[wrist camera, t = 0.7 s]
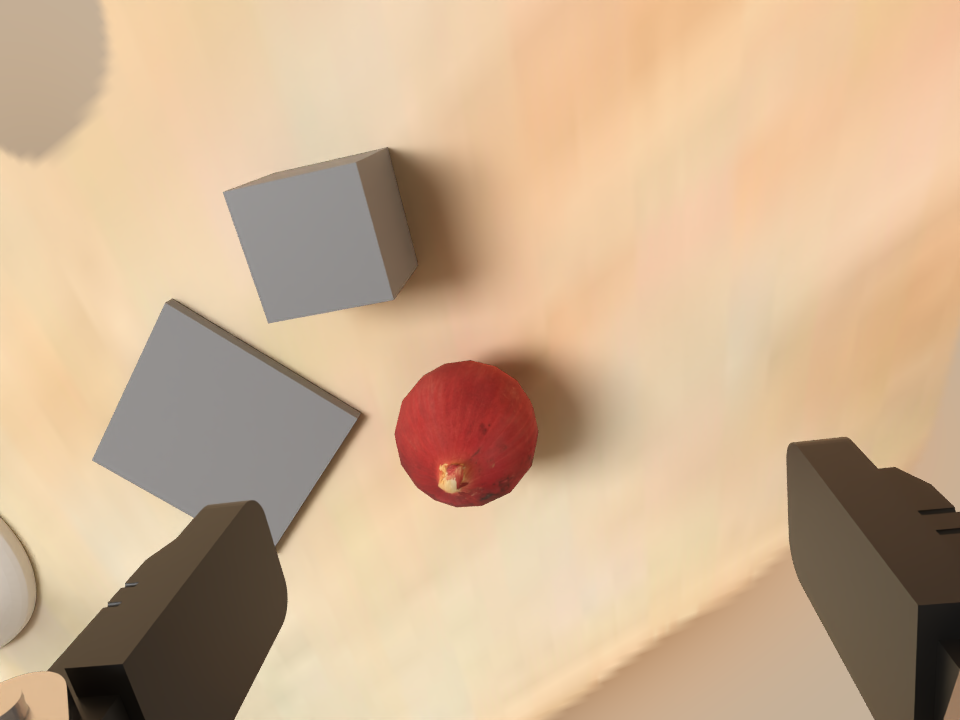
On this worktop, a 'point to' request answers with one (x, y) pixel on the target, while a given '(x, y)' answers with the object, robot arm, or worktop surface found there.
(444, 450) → the onion
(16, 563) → the candlestick
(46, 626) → the worktop surface
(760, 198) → the worktop surface
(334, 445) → the mat
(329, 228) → the marked cube
